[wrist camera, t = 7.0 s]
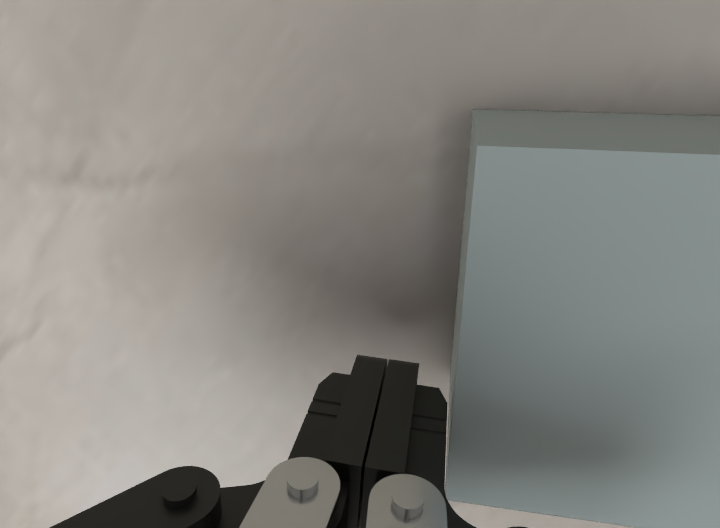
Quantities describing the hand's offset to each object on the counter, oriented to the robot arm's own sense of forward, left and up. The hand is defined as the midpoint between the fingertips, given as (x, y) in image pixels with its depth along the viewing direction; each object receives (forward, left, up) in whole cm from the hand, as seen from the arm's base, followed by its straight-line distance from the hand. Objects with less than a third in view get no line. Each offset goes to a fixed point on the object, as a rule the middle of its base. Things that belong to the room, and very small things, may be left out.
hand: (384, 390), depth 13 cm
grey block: (-3, +7, -4) cm, 8 cm away
